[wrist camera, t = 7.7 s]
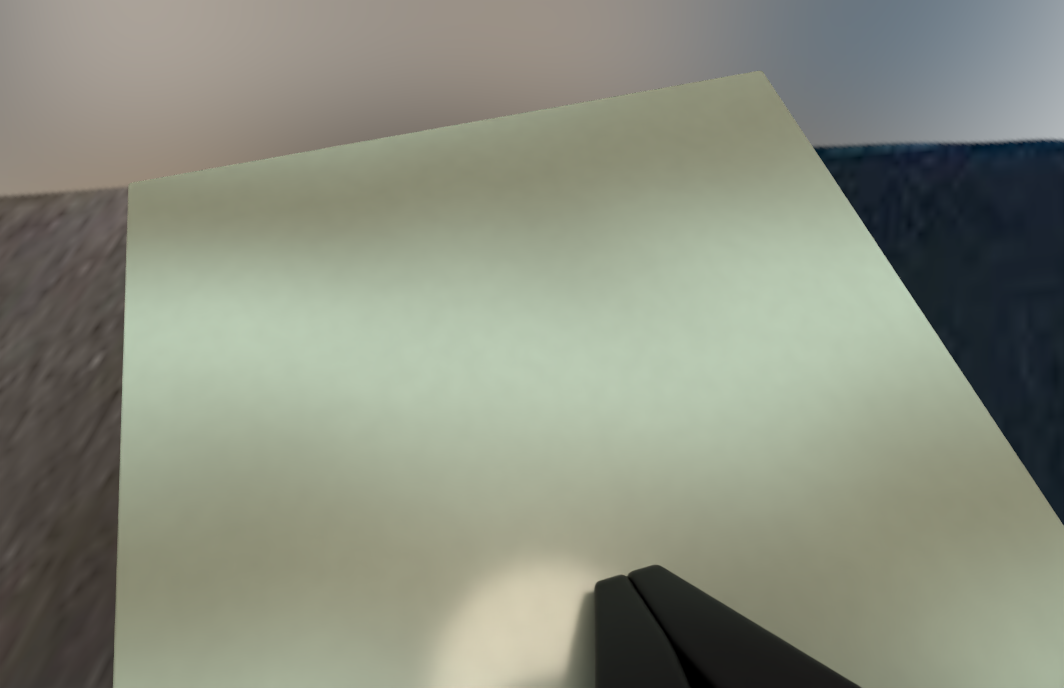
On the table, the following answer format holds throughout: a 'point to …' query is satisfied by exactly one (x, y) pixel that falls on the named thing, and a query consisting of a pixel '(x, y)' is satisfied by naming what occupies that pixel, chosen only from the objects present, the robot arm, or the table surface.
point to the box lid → (552, 413)
